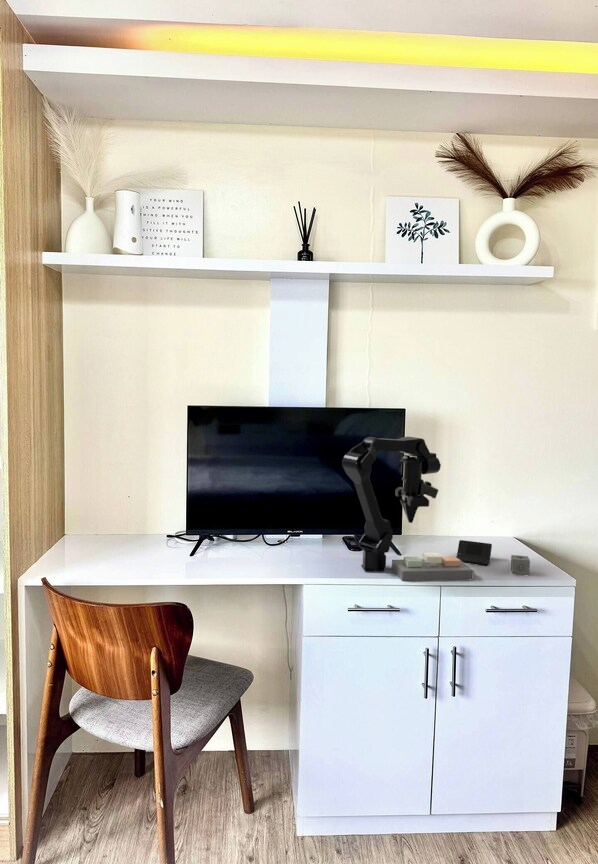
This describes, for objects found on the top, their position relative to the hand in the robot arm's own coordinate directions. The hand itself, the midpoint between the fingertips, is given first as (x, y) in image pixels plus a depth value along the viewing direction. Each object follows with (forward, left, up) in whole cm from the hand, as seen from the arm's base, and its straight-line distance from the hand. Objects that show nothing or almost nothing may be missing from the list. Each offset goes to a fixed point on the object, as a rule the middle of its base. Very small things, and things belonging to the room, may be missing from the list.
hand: (410, 522), depth 228 cm
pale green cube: (-3, -14, -13) cm, 19 cm away
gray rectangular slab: (+3, -14, -13) cm, 19 cm away
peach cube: (+9, -14, -13) cm, 21 cm away
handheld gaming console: (+22, 0, -14) cm, 26 cm away
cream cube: (+3, -14, -12) cm, 18 cm away
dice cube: (+32, -14, -13) cm, 37 cm away
